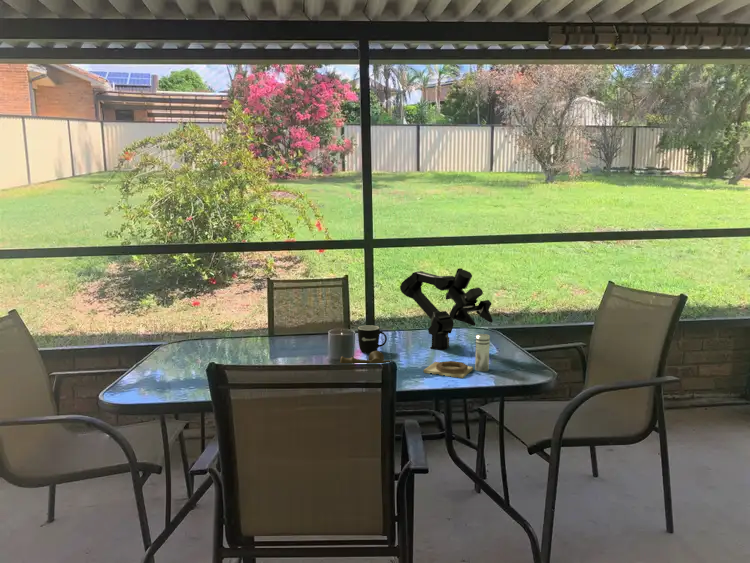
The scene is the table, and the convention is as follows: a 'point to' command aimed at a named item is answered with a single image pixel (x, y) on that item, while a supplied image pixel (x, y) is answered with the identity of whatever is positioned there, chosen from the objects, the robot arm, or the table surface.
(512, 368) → the table surface
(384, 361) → the kendama
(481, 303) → the robot arm
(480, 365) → the cylinder
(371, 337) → the mug
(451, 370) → the collar
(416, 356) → the table surface
